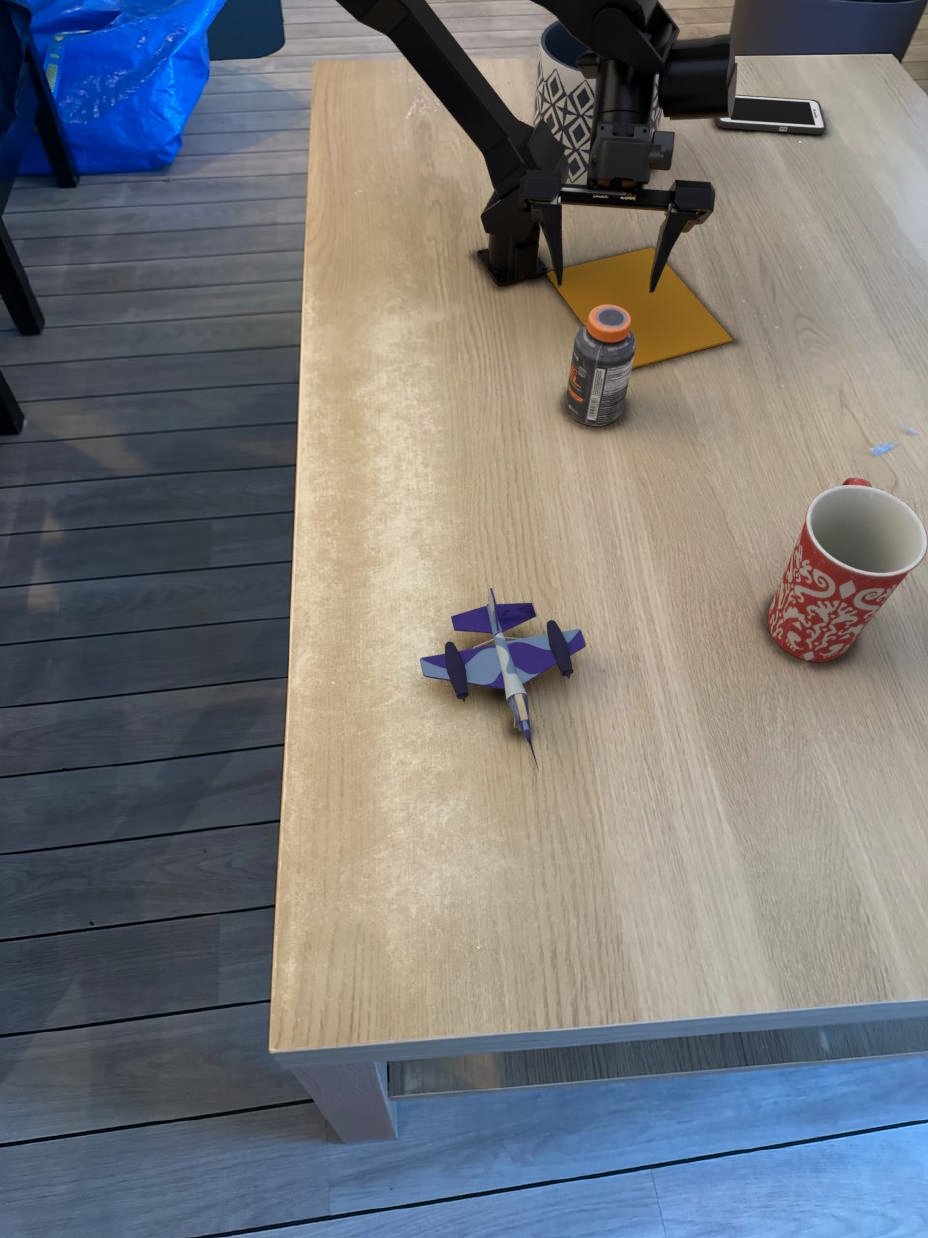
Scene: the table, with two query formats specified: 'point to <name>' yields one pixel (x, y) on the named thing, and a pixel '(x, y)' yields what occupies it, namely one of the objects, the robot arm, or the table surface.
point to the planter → (570, 98)
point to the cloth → (643, 305)
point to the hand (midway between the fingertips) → (605, 289)
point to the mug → (844, 568)
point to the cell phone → (775, 115)
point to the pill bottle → (601, 366)
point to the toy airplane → (504, 656)
